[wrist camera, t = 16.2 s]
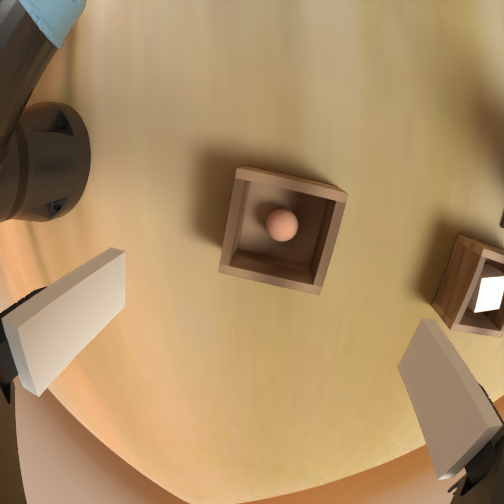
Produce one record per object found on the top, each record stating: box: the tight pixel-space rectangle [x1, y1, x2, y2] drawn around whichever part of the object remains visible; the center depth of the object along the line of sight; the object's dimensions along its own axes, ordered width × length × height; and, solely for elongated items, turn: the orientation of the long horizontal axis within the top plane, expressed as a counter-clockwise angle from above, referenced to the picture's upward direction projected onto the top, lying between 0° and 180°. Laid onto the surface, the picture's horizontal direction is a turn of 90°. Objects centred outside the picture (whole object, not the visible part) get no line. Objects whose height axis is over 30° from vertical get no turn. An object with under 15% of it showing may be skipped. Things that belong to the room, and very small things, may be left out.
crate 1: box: [218, 166, 348, 295], centre depth 27 cm, size 9×9×6 cm
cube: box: [467, 263, 504, 313], centre depth 26 cm, size 4×4×4 cm
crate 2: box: [431, 234, 504, 337], centre depth 26 cm, size 9×9×6 cm
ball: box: [266, 209, 298, 241], centre depth 28 cm, size 3×3×3 cm
